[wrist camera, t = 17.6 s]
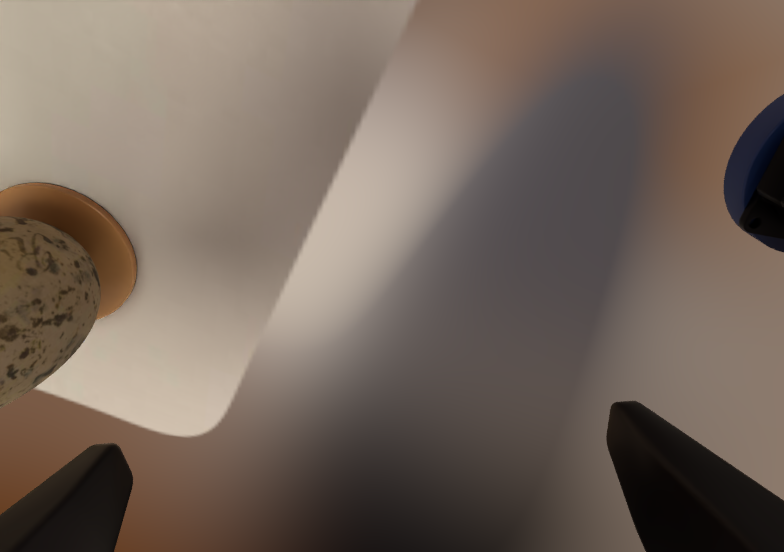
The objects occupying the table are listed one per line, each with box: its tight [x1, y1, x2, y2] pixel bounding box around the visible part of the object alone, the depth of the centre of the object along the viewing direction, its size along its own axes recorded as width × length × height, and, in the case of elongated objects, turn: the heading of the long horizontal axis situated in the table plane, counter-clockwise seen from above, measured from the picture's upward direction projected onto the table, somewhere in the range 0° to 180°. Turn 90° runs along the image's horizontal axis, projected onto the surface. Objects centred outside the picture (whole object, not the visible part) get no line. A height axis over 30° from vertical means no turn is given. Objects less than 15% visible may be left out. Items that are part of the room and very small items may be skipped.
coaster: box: [0, 183, 137, 319], centre depth 22 cm, size 6×6×1 cm
